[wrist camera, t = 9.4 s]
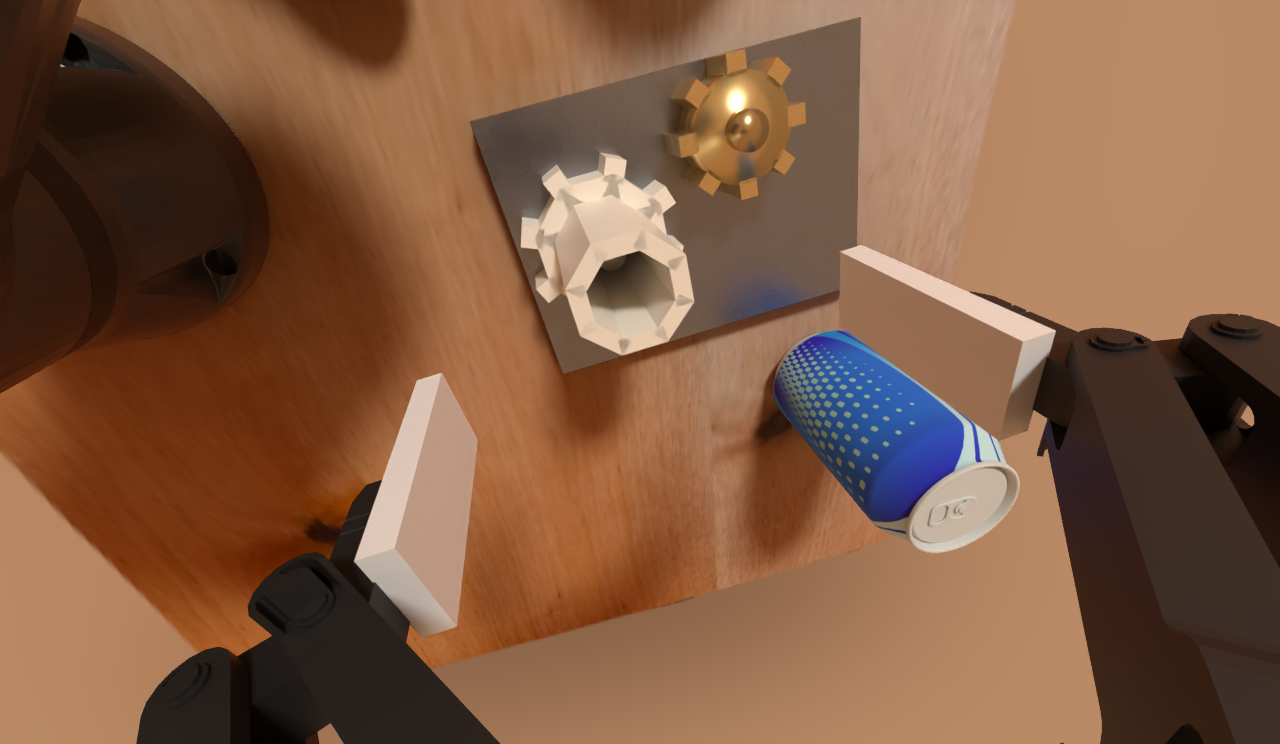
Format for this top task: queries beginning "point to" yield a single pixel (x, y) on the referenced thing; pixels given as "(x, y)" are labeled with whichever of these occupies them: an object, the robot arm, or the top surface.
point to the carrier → (707, 172)
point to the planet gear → (611, 256)
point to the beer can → (894, 443)
